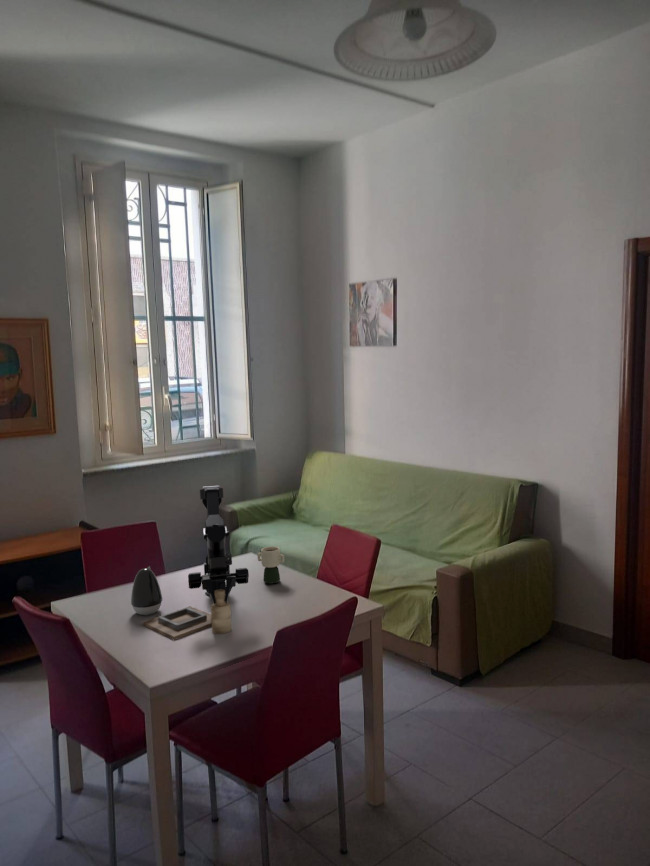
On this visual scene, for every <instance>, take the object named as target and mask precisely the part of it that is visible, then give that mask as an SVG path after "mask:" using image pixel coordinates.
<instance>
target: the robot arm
mask: <svg viewBox="0 0 650 866" xmlns="http://www.w3.org/2000/svg"><path fill="white" fill-rule="evenodd" d="M222 498H224V488H223V487H220V485H206V486H202V489H199V499H200V500H202V501H201V502H202V506H203V507H204V508H205V510H206V514H207V515H206V516H207V519H206V520H205V521H204V527H203V529H202V530H203V540H205V542H207V543H206V544H207V545H206V547H207V548H206V549H207V555H206V557H205V562H203V570H204V571H203V574H202V572H199V571H198V572H190V573H188V574H187V575H188V576H187V578H188V589H191V590H192V589H200V588H202V589H201V590H205V591H206V592H204V595H206V596H208V597H210V599H211V602H212V604H213V603H214V604H215V590H218V589H224V590H225V602H226V603H227V602H229V601H228V600H229V597H230V594H231V591H232V590H233V588H234V587H236V584H237V585H241V584H243V585H245V584H248V583H249V577H250V576H249V575H250V572H249V569H248V568H247V567H242V568H241V567H240V568H235V572H231V571H230V570H231V569H230V566H231V565H233V557H232V556H233V555H232V553H229V554H227V553H226V538H228V537H229V536H230V530H229V529H228V527H227V525H225V520H224V519H223V517H221V515H220V513H221V512H220V506H221V504H222V502H223V501H222V500H223V499H222Z"/></svg>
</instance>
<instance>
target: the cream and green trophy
mask: <svg viewBox="0 0 650 866" xmlns="http://www.w3.org/2000/svg"><path fill="white" fill-rule="evenodd" d="M257 561H258V562H261V566H262V567H264V571H263V580H262V581H263V583H266V584H274V583H275V584H276V583H278V582H280V581H281V576H280V571H279V566H280V565H281V564H283V563H285V554H282V553H281V549H280V547H279V546H276V545H275V546H274V545H273V546H272V545H271V546H265V547H262V548H260V552H257Z"/></svg>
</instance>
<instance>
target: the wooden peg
mask: <svg viewBox="0 0 650 866" xmlns="http://www.w3.org/2000/svg"><path fill="white" fill-rule="evenodd" d="M231 611H232V610H231V603H230V602H229V601H227V603H226V602H225V590H224V589H218V590H215V604H214V603H213V602H212V604H210V614H211V621H212V626H211V631H212V633H214V634H219V635H221V634H227V633H229V632H231V631H232V615H231Z"/></svg>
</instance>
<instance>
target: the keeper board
mask: <svg viewBox="0 0 650 866" xmlns="http://www.w3.org/2000/svg"><path fill="white" fill-rule="evenodd" d="M142 626H144V627H147V628H148V629H151V630H152V631H154V632H156V633H159V634H161V635H163V636H165V637H167V638H170V639H171V640H174V641H175V640H179V639H181V638H183V637H187V636H188V635H191V634H194V633H196V632H199V631H201V630H205V629H207V628H209V627H212V621H211V613H208V612H205V611H203V610H201V609H198V608H196V607H193V606H191V605H190V606H187V607H184V608H180V609H177V610H175V611H171V612H169V613H165V614H163V615H160V616H158V617H157V616H156V617H154V618H151V619H147V620H144V621H142Z"/></svg>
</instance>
